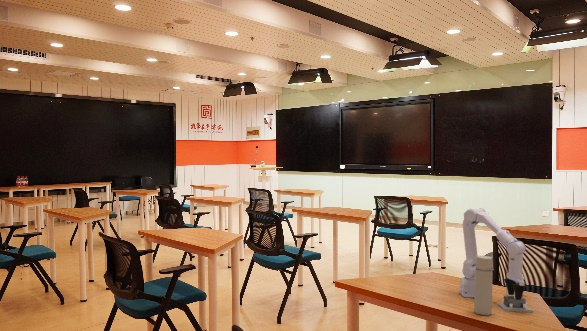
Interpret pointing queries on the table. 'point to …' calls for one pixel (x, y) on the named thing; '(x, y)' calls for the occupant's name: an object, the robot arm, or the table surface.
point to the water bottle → (483, 285)
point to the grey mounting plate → (524, 309)
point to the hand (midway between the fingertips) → (514, 297)
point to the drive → (514, 301)
